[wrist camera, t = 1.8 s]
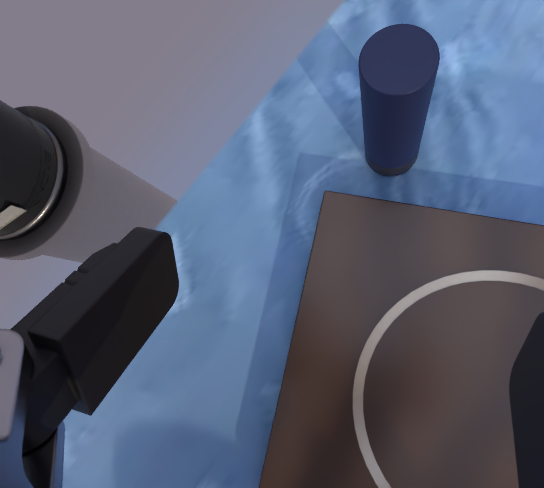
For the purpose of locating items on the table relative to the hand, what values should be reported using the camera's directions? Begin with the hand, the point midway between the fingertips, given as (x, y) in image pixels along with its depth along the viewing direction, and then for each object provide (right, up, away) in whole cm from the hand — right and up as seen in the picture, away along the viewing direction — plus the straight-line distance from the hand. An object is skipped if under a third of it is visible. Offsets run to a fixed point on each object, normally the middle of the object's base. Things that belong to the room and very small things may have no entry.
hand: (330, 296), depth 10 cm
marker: (+5, +6, +15) cm, 17 cm away
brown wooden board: (+8, -5, +12) cm, 15 cm away
